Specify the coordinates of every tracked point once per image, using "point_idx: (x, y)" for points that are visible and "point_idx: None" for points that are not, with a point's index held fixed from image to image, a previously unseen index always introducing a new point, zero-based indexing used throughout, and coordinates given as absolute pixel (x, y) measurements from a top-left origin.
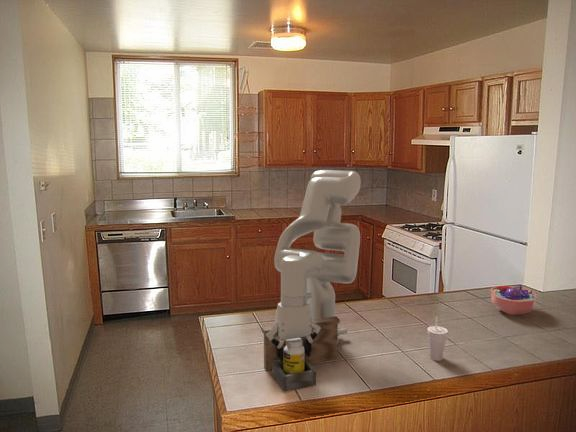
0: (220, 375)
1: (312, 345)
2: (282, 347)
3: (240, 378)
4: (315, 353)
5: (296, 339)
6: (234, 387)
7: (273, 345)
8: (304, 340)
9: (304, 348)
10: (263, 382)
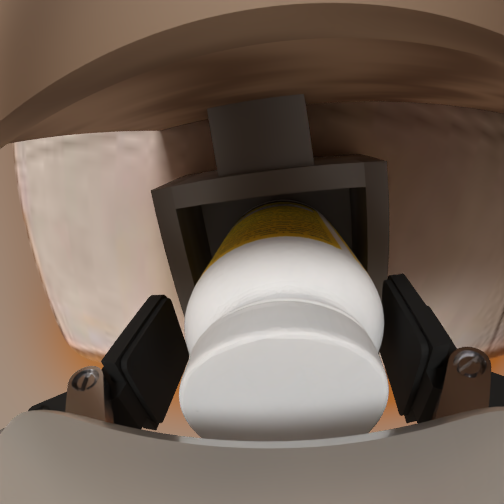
0: (19, 157)
1: (477, 94)
2: (153, 414)
3: (65, 185)
4: (461, 100)
5: (316, 414)
6: (56, 244)
7: (127, 111)
8: (429, 338)
9: (393, 308)
10: (142, 233)
